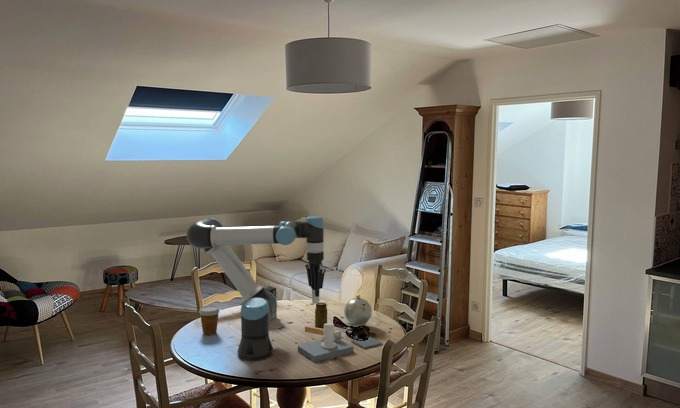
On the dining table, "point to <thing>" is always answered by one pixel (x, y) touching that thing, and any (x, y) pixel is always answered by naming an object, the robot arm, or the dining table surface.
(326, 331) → the white tall cylinder
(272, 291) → the coffee box
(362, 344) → the pad
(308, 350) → the socket board
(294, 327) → the dining table surface
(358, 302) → the teapot
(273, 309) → the robot arm
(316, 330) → the orange rectangular bar
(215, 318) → the disposable coffee cup
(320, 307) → the condiment
